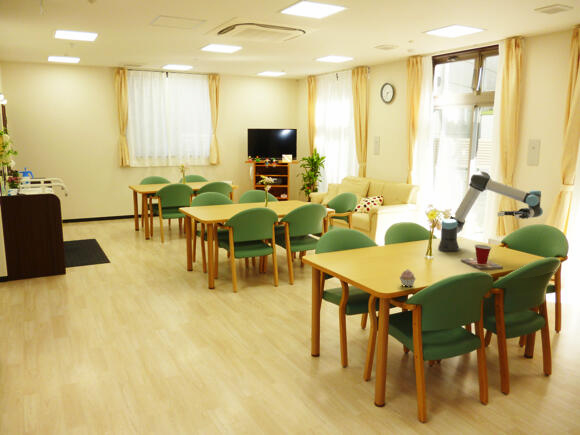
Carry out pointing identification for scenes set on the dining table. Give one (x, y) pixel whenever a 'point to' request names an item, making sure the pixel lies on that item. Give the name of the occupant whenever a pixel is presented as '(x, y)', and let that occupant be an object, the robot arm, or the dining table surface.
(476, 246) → the plastic cup
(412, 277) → the cupcake
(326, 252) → the dining table surface
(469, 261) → the book
